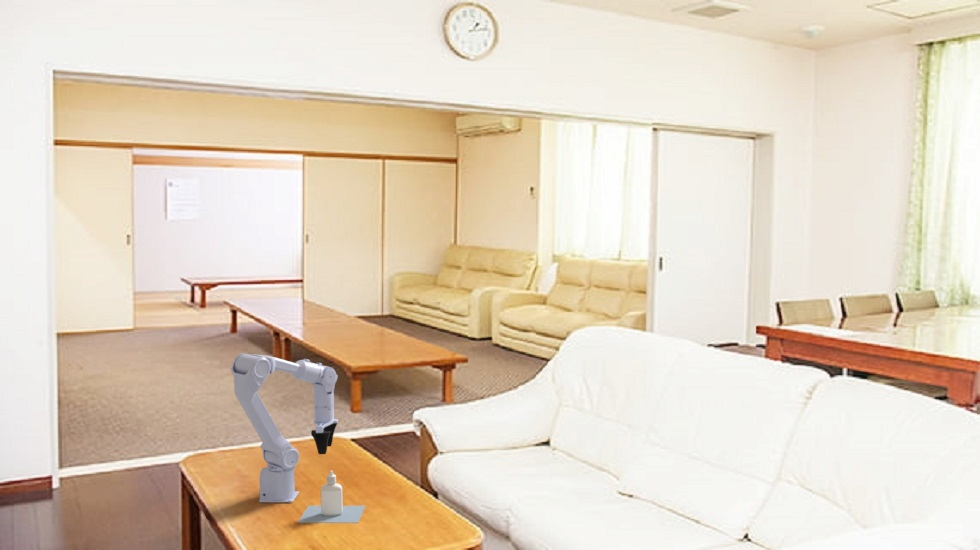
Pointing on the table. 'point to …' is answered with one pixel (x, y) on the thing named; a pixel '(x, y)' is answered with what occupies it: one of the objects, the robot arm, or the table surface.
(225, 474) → the table surface
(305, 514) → the mat
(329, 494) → the eye dropper bottle
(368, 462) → the table surface
